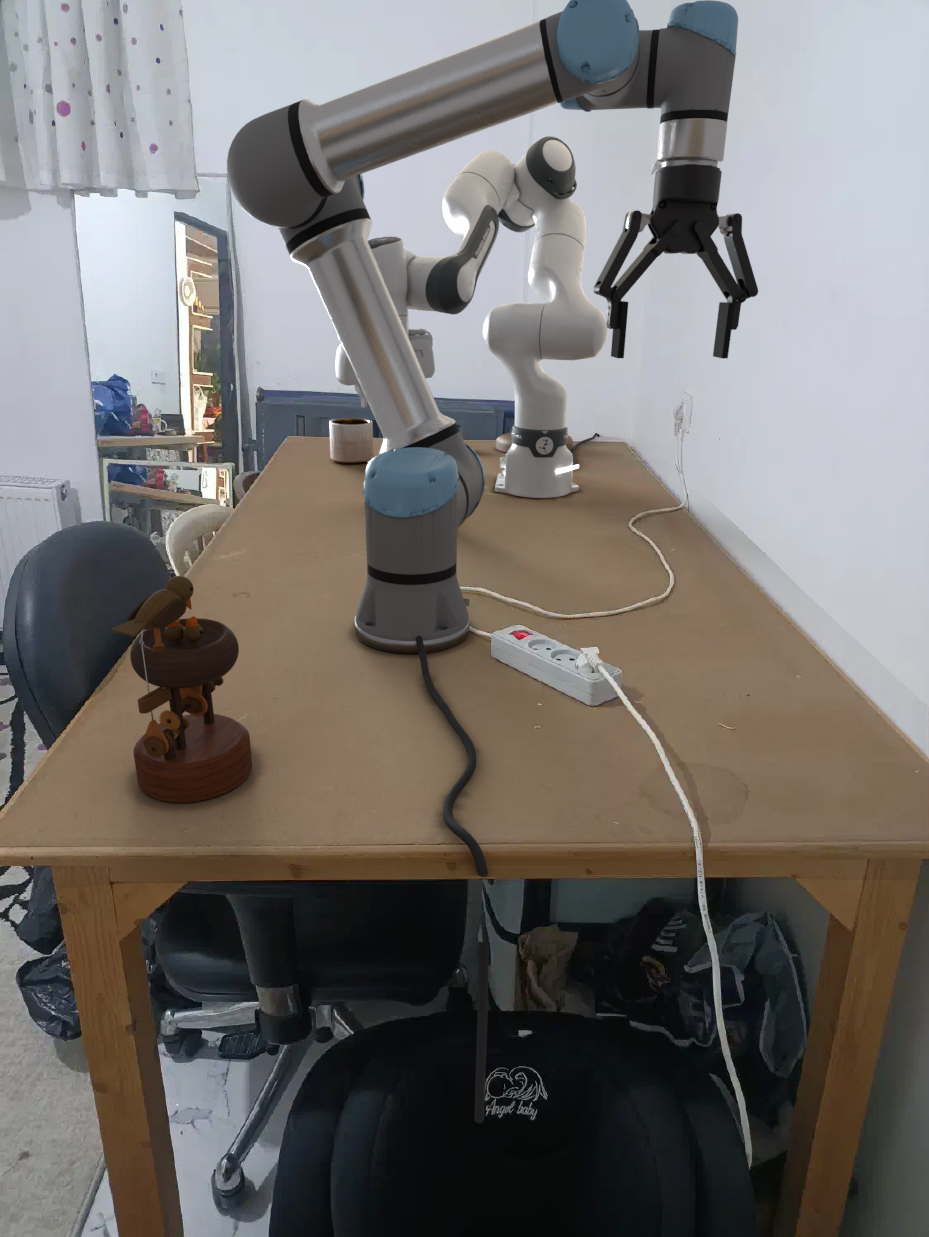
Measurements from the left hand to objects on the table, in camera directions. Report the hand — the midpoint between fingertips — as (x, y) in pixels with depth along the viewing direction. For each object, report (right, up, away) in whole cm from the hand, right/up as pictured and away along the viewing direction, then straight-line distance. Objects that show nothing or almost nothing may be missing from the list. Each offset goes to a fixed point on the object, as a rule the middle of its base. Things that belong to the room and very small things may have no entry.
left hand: (669, 357), depth 106 cm
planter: (-54, +7, +108) cm, 121 cm away
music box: (-51, -47, -25) cm, 74 cm away
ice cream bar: (-6, +11, +119) cm, 120 cm away
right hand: (-41, +9, +60) cm, 73 cm away
